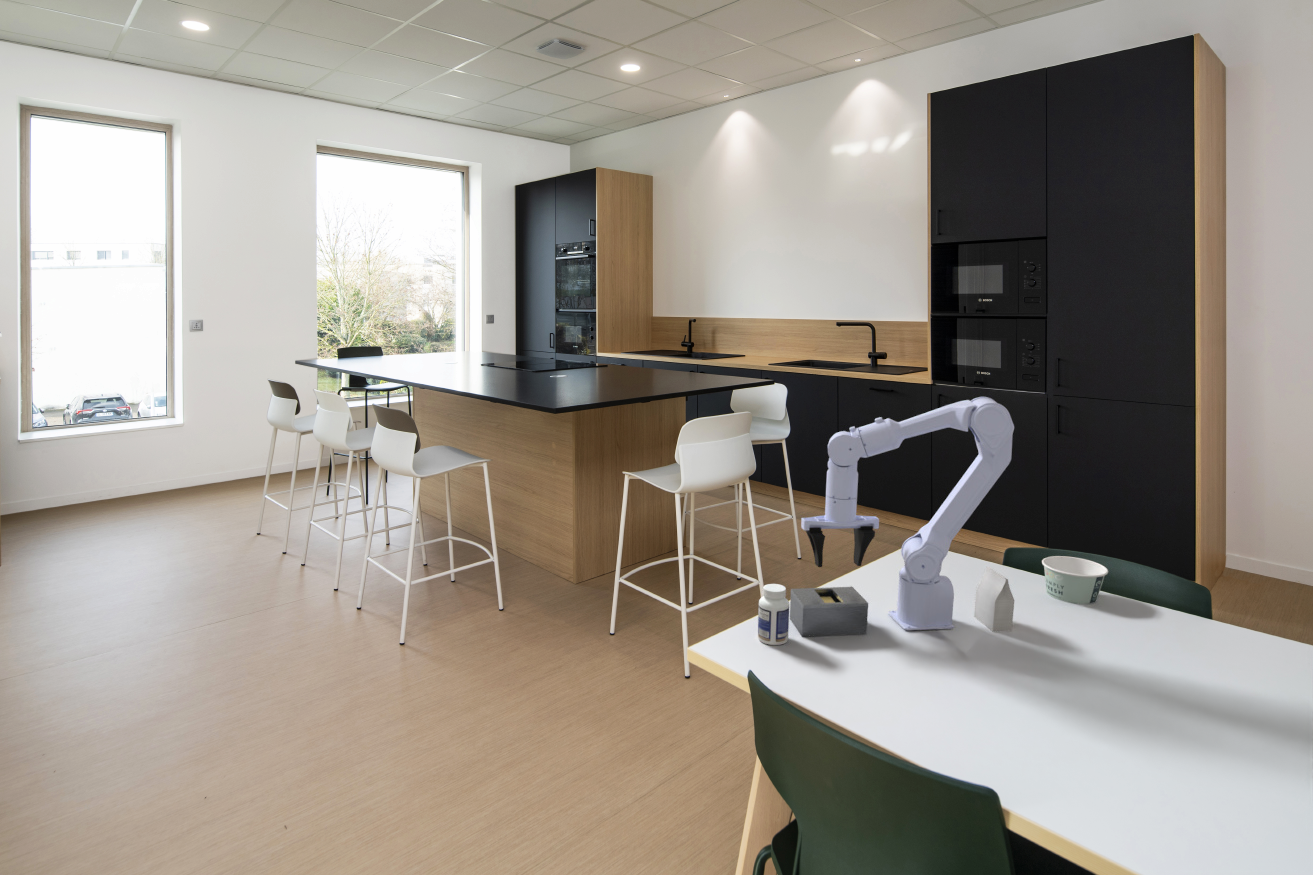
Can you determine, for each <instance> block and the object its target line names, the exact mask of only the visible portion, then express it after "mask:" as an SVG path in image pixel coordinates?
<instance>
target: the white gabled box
mask: <svg viewBox="0 0 1313 875" xmlns="http://www.w3.org/2000/svg"><path fill="white" fill-rule="evenodd" d="M975 588H976V589H975V599H974V600H975V601H974V612H973V613H974V614H973V617H974V618H975V619H976V620H977V621H979V622H980V623H981V624H982V625H984V626H985V627H986V628H987V629H988V630H990V631H991V632H1012V629H1013V621H1014V608H1015V599H1014V598H1015V597H1014V596H1013V593H1012V590H1011V587H1010V584H1009V579H1008V578H1007V577H1005V576H1003V575H1001V574H1000V573H999V572H997V570H995V569H993V568H992V567H990V566H988V567H987V566H986V568H985V570H984V573H983V575H982V577H981V579H980V580H979V583H978V584H977V586H976V587H975Z"/></svg>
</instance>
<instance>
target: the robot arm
mask: <svg viewBox="0 0 1313 875" xmlns="http://www.w3.org/2000/svg"><path fill="white" fill-rule="evenodd" d="M947 428H951V429H955V430H959V431H962V432H969V430H970V431H971V433H972V434H973V436H974V441H975V444H976V448H977V450H978V452H977V453H978V455H977V456H976V457H975V459H974V460H973V462H972V463H971V464H970V466H969V467H968V468H967V470H966V471H965V472H964V474H963V475H962V477H960V479H959V481H958V482H957V483H956V485H955V486H954V487H953V488H952V490H951V491H950V493H949V494H948V496H947V497H946V499H945V500H944V501H943V503H941V505H940V507H939V508H938V509H937V511H935V514H934V515H933V516H932V518H931V519H930V520H929V522H927V524H924V526H922V527H920V528H919V530H918V531H917V532H916V533H915V534H913V535H912V536H910V537H908V538H907V539H906V540H904V542H903V543H902V545H901V548H900V549H901V550H900V551H901V556H902V559H903V562H904V566H903V567H902V568H901V569H900V570H899V572H898V574H899V575H898V588H897V590H898V591H897V601H896V602H897V604H896V610H889V611H888V615H889V616H890V617H891V618H892V619H893V620H894V621H895V622H896V623H897V624H898V625H899V626H900V627H901V628H902V629H903V630H905V631H922V630H923V631H924V630H925V631H927V630H947V629H948V630H949V629H950V630H951V629H954V627H955V626H954V625H953V614H954V612H953V611H954V597H955V593H954V591H955V590H954V586H953V582H952V580H951V579H950V578H949V577H948V576H946V575H940V574H941V570H942V564H943V562H944V559H945V558H946V557H947V555H948V553H949V550H950V547H951V544H952V541H953V540H954V539H955V537H956V536H957V534H958V533H959V531H960V530H962V527H963V526H964V525H965V524H966V522H967V521H968V520H969V519H970V517H971V516H972V515H973V513H974V511H975V510H976V509H977V507H978V506H979V505H980V504H981V502H982V501H983V499H984V498H985V497H986V495H987V494H988V493H989V491H990V490H991V489H992V488H993V487H994V485H995V483H996V482H997V481H998V479H999V478H1000V477H1001V476H1002V474H1003V473H1004V471H1006V468H1007V467H1008V466H1009V465H1010V463H1011V461H1012V451H1013V450H1012V449H1013V436H1014V435H1013V433H1014V430H1015V424H1014V422H1013V420H1012V416H1011V414H1010V412H1009V410H1008V409H1007V408H1006V407H1005V406H1004V405H1002V404H1001V403H998V402H997V401H995V399H993V398H991V397H987V396H979V397H975V398H973V399H971V400H970V399H966V400H960V401H956V402H954V403H950V404H945V405H944V406H941V407H939V408H935V409H933V410H930V411H927V412H925V413H921V414H917V415H916V416H913V417H910V418H907V419H904V420H901V421H896V420H893V419H891V418H890V417H888V418H886V419H884V418H883V417H882V416H881V417H880V416H879V417H876V418H875V419H874V422H872V423H869V424H866V425H863V426H859V427H855V425H854V426H850V427H849V431H846V430H843V431H842V430H841V431H839V432H835V433H834V434H833V435H832V436H831V437H830V438H829V439H828V440H829V441H828V444H827V454H828V457H829V458H828V461H827V468H828V469H827V471H826V483H825V505H824V506H825V508H824V515H817V516H808V517H801V519H800V520H801V521H800V522H801V523H800V524H801V525H800V528H801V529H802V530H803V531H805V533H806V534H807V537H808V539H809V542H810V545H811V547H812V548H811V549H812V551H813V558H814V564H815V565H816V567H817V568H823V562H824V560H823V553H824V544H825V540H826V539H825V538H826V536H825V535H824V533H823V532H824V531H823V530H831V529H832V530H836V529H838V530H839V529H853V537H854V547H853V548H854V549H853V563H854V564H855V565H856V566H857V567H861V566H862V563H863V560H864V557H865V554H866V553H867V552H866V551H867V549H868V547H869V545H871V542H873V539H874V538H875V537H876V531H875V529H876V530H878V529H879V527H880V526H879V525H880V518H878V517H877V516H876V515H875V516H869V515H857V505H858V503H857V502H858V487H859V486H858V483H859V472H858V461H859V460H860V458H865V459H866V458H869V457H873V456H876V455H880V454H882V453H886V452H889V451H893V450H896V449H898V448H900V446H901V444H902V443H903V441H904V440H905V439H910V438H913V437H917V436H921V435H924V434H928V433H931V432H935V431H939V430H943V429H947Z"/></svg>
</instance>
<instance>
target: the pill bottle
mask: <svg viewBox="0 0 1313 875" xmlns="http://www.w3.org/2000/svg"><path fill="white" fill-rule="evenodd" d="M762 595H763V596H761V597H760V599H758V614H757V615H758V617H757V638H758V640H759V641H760V642H761V643H763V644H766V645H771V646H779V645H783V644H786V643H787V641H788V640H789V625H790V624H789V622H790V601H789V600H788V598H786V595H787V588H786V586H785V585H782V584H778V583H768V584H765V585H763V588H762Z"/></svg>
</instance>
